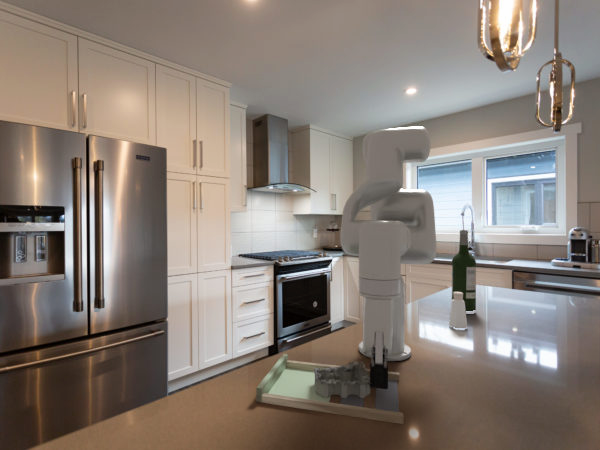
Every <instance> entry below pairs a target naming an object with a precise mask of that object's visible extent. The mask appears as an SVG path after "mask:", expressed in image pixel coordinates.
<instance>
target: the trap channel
mask: <svg viewBox="0 0 600 450" xmlns="http://www.w3.org/2000/svg"><path fill="white" fill-rule="evenodd" d="M288 355H289V354H287V353H283V354H282V355H281V357H280V358H279V359H278V360H277V361H276V363H275V364H274V365H273V367H271V369H270V370H269V371H268V373H267V374H266V375H265V376H264V377H263V379H262V380H261V381H260V383H259V384H258V385H257V387H256V388H255V389H256V390H255V391H256V400H255V401H256V403H261V404H262V403H263V404H270V405H275V406H280V407H281V406H282V407H289V408H293V409H294V408H296V409H299V410H301V409H302V410H307V411H315V412H321V413H326V414H327V413H329V414H332V415H333V414H335V415H341V416H347V417H354V418H360V419H366V420H367V419H368V420H374V421H379V422H380V421H381V422H388V423H393V424H401V425H404V412H400V411H399V412H392V411H385V410H378V409H375V408H369V407H364V406H363V407H357V406H350V405H343V404H340V403H335V402H330V401H329V402H323V401H316V400H309V399H302V398H295V397H288V396H281V395H274V394H268V393H269V391H270V390H271V388H272V387H273V386H274V384H275V383H276V381H277V380H278V379H279V377H280V376H281V374H282V373H283V371H284V370H285V369H286V367H290V368H298V369H306V370H314V368H320V369H325V368H328V367H340V366H341V365H335V364H326V363H319V362H318V363H317V362H308V361H301V360H300V361H299V360H290V359H289V356H288ZM366 370H367V373H368V376H369V378H370V368H366ZM400 377H401V375H400V372H395V371H389V370H388V379H390V380H397V382H398V381H400Z"/></svg>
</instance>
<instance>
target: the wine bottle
mask: <svg viewBox="0 0 600 450" xmlns="http://www.w3.org/2000/svg"><path fill="white" fill-rule="evenodd" d="M468 234H469V231H468V230H467V229H465V230H461V229H460V230H459V250H458V253H456V254H455V255H454V256H453V257H452V260H451V301H452V300H453V299H454V296H453V295H454V294H453V292H462V293H463V300H464V302H465V310H466V311H473V310H476V309H477V307H476V305H477V302H476V301H477V300H476V299H477V297H476V295H477V261H476V259H475V257H474V256H473V255H472V254H471V253H470V251H469V237H468V236H469V235H468ZM476 311H477V310H476Z"/></svg>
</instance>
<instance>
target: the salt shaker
mask: <svg viewBox="0 0 600 450" xmlns="http://www.w3.org/2000/svg"><path fill="white" fill-rule="evenodd" d="M453 294H454V295H453V296H454V299H453V300H452V299H451V303H450V312H449V321H448V326H449V325H450V326H452V327H455V328H466V327H467V328H468V322H467V321H468V320H467V315H466V310H465V302H464V300H463V293H462V292H453Z"/></svg>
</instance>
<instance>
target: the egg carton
mask: <svg viewBox="0 0 600 450" xmlns="http://www.w3.org/2000/svg"><path fill="white" fill-rule="evenodd" d="M339 366H340V367H328V368H325V369H320V368H314V373H315V386H316V394H319V395H321V396H322V397H323V398H328V397H329V396H330V395H331V396H332V395H333V396H334V395H336V396H339V397H340V398H347V396H349V395H357V396H359V397H360V398H364V399H365V398H366V396H368V395H370V394H371V387H370V384H372V383H370V377H369V376H368V373H367V370H366V369H367V367H366V364H365V361H360V360H359V361H352V362H349V363H348V365H342V364H340V365H339Z"/></svg>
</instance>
